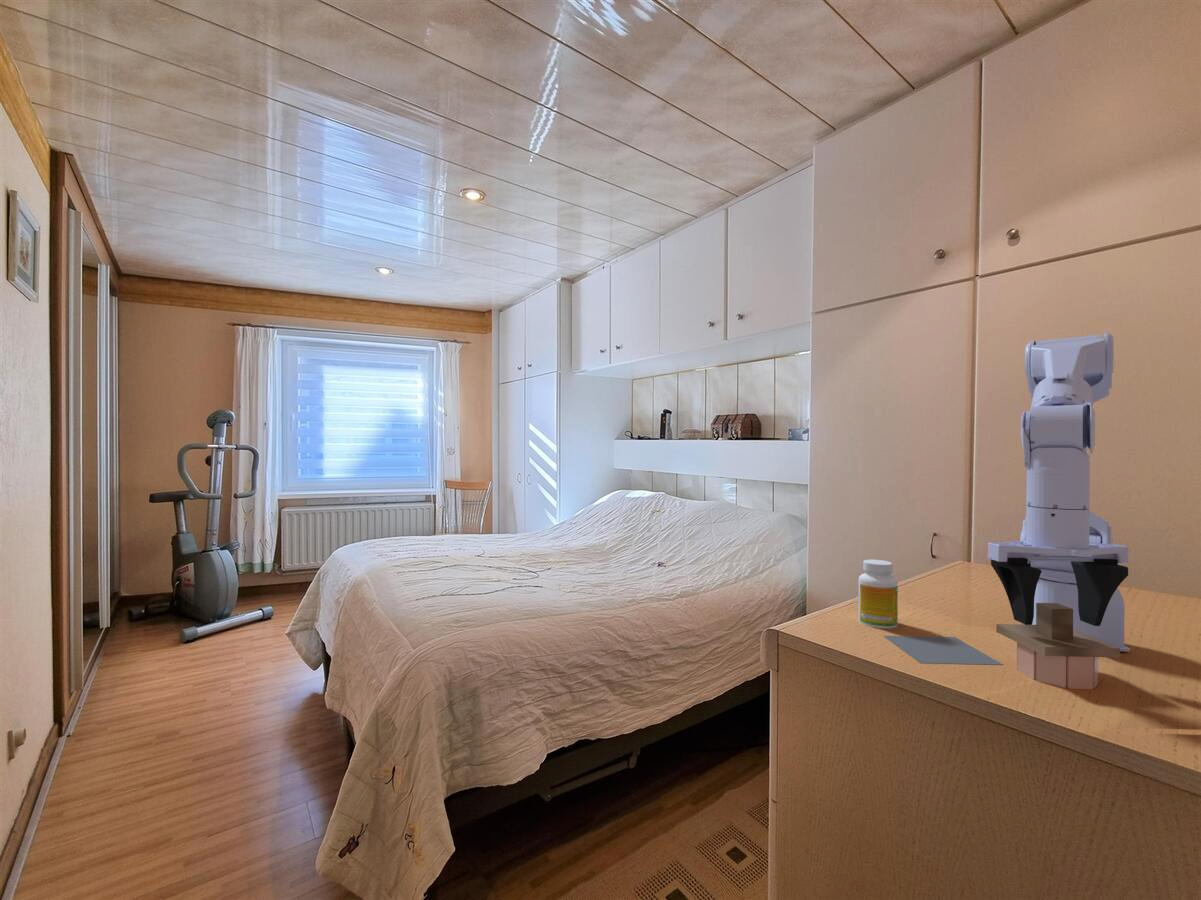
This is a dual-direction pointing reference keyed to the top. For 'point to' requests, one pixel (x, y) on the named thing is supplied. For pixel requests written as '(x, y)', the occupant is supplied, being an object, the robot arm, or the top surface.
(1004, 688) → the top surface
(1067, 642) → the lid
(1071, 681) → the bowl
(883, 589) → the supplement bottle
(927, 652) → the mat
